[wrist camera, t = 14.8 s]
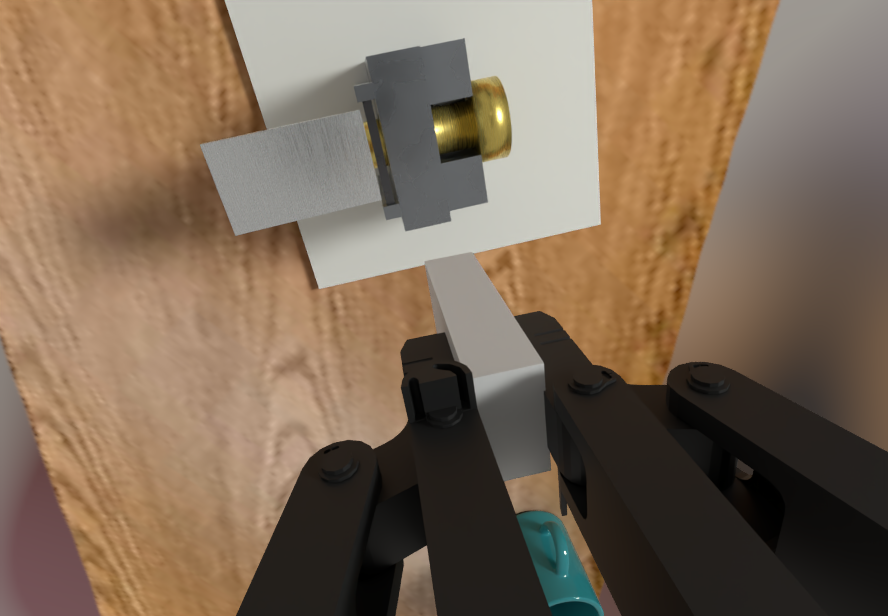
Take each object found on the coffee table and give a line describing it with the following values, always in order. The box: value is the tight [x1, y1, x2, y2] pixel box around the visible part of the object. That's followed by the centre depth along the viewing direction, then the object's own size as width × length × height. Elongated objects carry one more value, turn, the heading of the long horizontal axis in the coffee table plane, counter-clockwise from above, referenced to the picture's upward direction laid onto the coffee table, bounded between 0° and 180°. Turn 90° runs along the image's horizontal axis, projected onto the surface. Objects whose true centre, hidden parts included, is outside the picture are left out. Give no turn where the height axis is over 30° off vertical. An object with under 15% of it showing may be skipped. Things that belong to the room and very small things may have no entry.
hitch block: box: [354, 38, 488, 232], centre depth 32 cm, size 7×10×10 cm
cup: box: [516, 511, 604, 616], centre depth 54 cm, size 9×12×11 cm
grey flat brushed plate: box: [200, 110, 382, 236], centre depth 27 cm, size 1×5×8 cm
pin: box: [363, 76, 512, 169], centre depth 32 cm, size 13×5×5 cm, turn 101°
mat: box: [225, 0, 601, 289], centre depth 37 cm, size 22×25×1 cm
